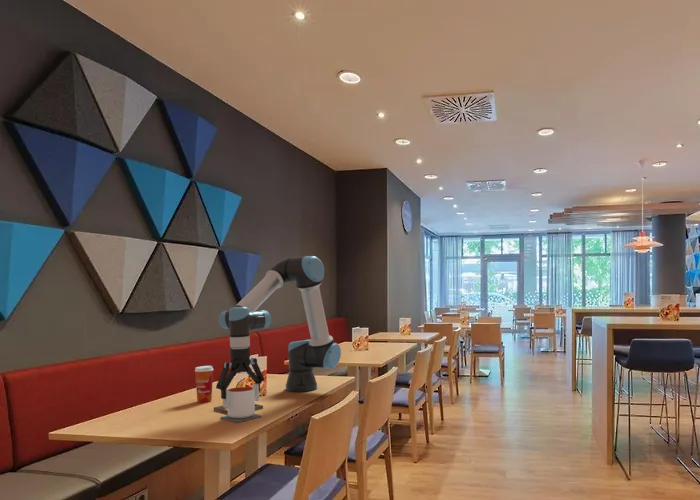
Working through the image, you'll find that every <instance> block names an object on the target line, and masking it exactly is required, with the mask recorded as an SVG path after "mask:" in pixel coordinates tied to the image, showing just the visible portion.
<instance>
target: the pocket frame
mask: <svg viewBox="0 0 700 500" xmlns="http://www.w3.org/2000/svg"><path fill="white" fill-rule="evenodd" d="M254 406H255V411H258V410H263V409H264V405H261V404H257V403H254ZM213 411H214V412H219V413H223V414H227V415H228V409H227V408H224V407H223V405H217V406H214V407H213Z"/></svg>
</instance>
